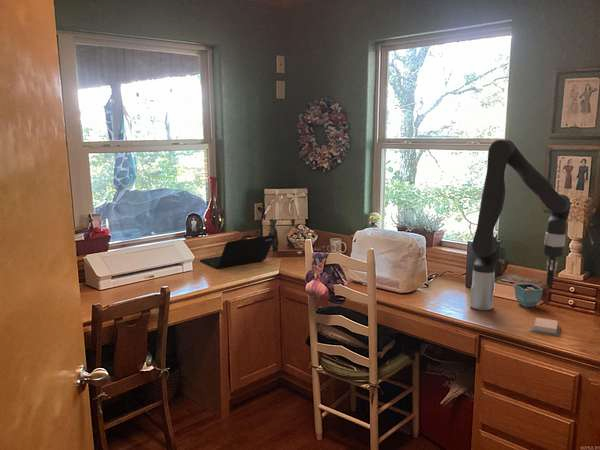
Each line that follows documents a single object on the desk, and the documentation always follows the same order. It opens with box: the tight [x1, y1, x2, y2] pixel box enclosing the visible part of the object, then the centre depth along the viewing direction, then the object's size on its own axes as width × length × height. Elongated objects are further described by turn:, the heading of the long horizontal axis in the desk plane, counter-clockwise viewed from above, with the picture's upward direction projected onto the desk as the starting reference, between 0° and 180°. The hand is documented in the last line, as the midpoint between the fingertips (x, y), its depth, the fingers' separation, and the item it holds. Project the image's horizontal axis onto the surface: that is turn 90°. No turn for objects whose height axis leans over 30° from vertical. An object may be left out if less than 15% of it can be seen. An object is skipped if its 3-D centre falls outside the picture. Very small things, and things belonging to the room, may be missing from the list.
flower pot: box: [514, 283, 543, 308], centre depth 230 cm, size 9×9×9 cm
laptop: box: [199, 234, 277, 270], centre depth 307 cm, size 33×38×19 cm
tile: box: [534, 317, 558, 334], centre depth 203 cm, size 8×2×10 cm
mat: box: [530, 321, 561, 337], centre depth 203 cm, size 10×10×1 cm
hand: (549, 284), depth 209 cm, fingers closed
